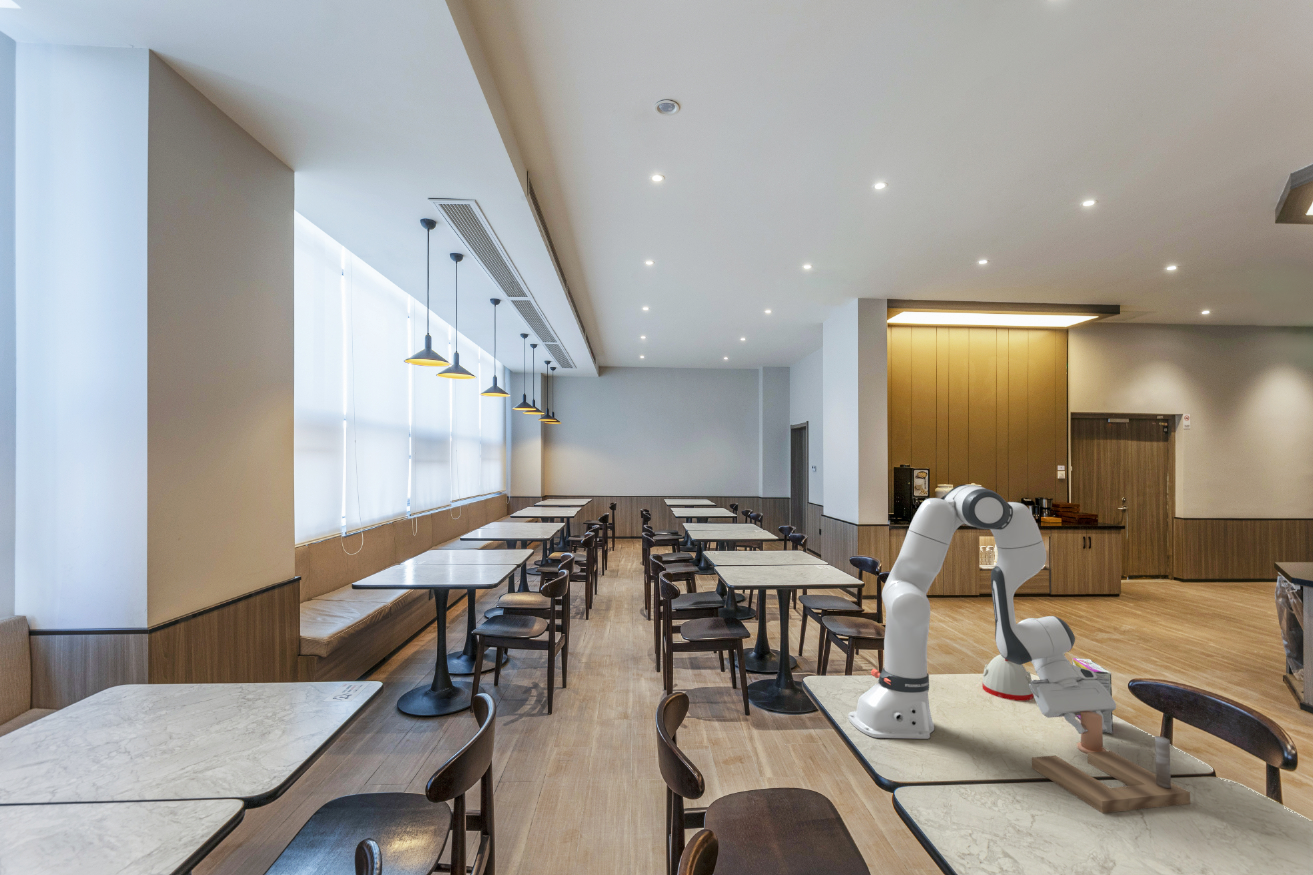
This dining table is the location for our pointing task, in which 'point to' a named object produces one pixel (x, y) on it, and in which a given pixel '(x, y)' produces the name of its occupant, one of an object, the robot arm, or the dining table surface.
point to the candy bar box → (1103, 678)
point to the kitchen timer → (1007, 680)
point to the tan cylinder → (1091, 733)
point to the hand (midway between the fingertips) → (1093, 732)
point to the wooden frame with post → (1141, 782)
